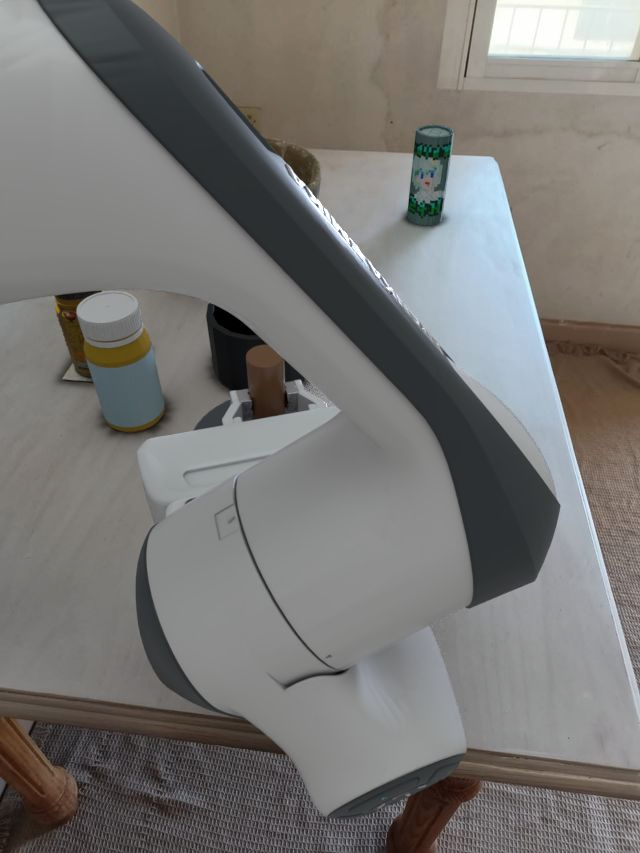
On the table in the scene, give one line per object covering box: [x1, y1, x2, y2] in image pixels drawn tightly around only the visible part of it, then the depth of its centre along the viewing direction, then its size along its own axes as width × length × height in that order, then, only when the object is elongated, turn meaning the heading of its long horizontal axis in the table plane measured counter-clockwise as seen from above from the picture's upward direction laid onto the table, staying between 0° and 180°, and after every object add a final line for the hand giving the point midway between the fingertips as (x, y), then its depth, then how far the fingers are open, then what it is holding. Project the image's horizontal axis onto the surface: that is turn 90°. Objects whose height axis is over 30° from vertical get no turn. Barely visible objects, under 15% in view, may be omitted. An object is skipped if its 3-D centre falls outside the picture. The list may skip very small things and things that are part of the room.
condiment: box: [54, 290, 103, 382], centre depth 77 cm, size 7×8×12 cm
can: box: [406, 123, 455, 227], centre depth 108 cm, size 6×6×15 cm
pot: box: [205, 303, 306, 391], centre depth 79 cm, size 13×13×8 cm
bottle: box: [76, 290, 166, 433], centre depth 69 cm, size 7×7×15 cm
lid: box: [192, 345, 330, 431], centre depth 49 cm, size 14×14×10 cm
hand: (264, 391), depth 49 cm, fingers closed on lid, 3 cm apart
